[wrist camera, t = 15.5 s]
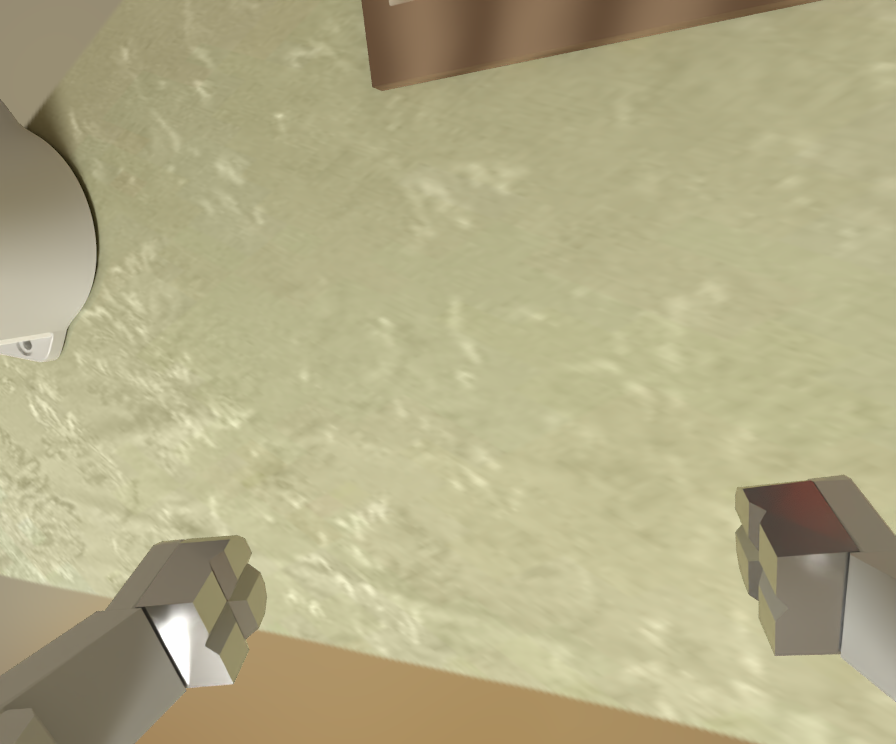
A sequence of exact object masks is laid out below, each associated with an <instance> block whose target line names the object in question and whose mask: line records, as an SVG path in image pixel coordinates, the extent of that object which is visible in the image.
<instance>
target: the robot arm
mask: <svg viewBox="0 0 896 744" xmlns="http://www.w3.org/2000/svg"><path fill="white" fill-rule="evenodd" d="M95 269H96V237H95V230H94V224H93V220H92V216H91V212H90V209H89V205H88V203H87V200H86V197H85V195H84V192H83V190H82V188H81V186H80V184H79V182H78V180H77V178H76V177H75V175H74V173H73V172H72V170H71V169H70V167H69V166H68V164H67V163H66V162H65V160H64V159H63V158H62V157H61V156H60V154H59V153H58V152H57V151H56V150H55V149H54V148H53V147H52V146H50V145H49V144H48V143H47V142H46V141H44V140H43V139H42V138H40V137H38V136H37V135H35V134H34V133H32V132H30V131H29V130H27V129H26V128H24V127H23V126H22V125H20V124H19V123H18V122H17V120H16V119H15V118H14V116H13V115H12V114H11V112H10V111H9V109H8V108H7V107H6V106H5V105H4V103H3V102H2V101H1V100H0V354H2V355H7V356H12V357H17V358H22V359H27V360H31V361H36V362H46V361H54V360H56V359H57V358H58V357H59V355H60V353H61V351H62V348H63V344H64V340H65V336H66V331H67V328H68V326H69V324H70V323H71V321H72V320H73V319H74V318H75V316H76V315H77V314H78V313H79V311H80V310H81V309H82V307H83V306H84V304H85V302H86V300H87V298H88V296H89V293H90V290H91V288H92V284H93V280H94V275H95ZM735 510H736V512H737V514H738V516H739V518H740V521H741V523H742V525H741V526H740V527H739V528H738V530H737V531H736V532H735V534H736V552H737V558H738V564H739V569H740V572H741V575H742V578H743V582H744V584H745V587H746V589H747V591H748V594H749V595H750V596H752V597H753V598H755V599H756V600H758V601H759V620H760V622H761V625H762V627H763V629H764V632H765V634H766V636H767V639H768V641H769V643H770V646H771V648H772V650H773V653H774V655H775V656H786V655H824V654H841V658H842V659H844V660H845V661H846V662H847V663H848V664H850V665H851V666H852V667H853V668H855V669H856V670H857V671H858V672H859V673H861V674H862V675H863V676H864V677H866V678H867V679H868V680H869V681H870V682H872V683H873V684H874V685H875V686H877V687H878V688H879V689H880V690H882V691H883V692H884V693H885V694H886V695H888V696H889V697H890V698H891V699H893V700H894V701H895V702H896V535H895V534H894V533H893V531H892V530H891V529H890V528H889V526H888V525H887V524H886V522H885V521H884V520H883V519H882V517H881V516H880V515H879V514H878V512H877V511H876V510H875V509H874V507H873V506H872V505H871V503H870V502H869V501H868V500H867V498H866V497H865V496H864V495H863V493H862V492H861V491H860V489H859V488H858V487H857V486H856V484H855V483H854V482H853V481H852V479H851V478H849V477H847V476H845V475H838V476H830V477H821V478H813V479H808V480H806V481H795V482H785V483H775V484H765V485H756V486H746V487H737V490H736V495H735ZM251 554H252V552H251V550H250V548H249V546H248V544H247V542H246V539H245V538H243V537H240V536H238V535H234V536H220V537H206V538H193V539H186V540H171V541H162V542H159V543H157V544H155V545H153V547H152V548H151V549H150V551H149V552H148V553H147V555H146V556H145V557H144V559H143V560H142V561H141V563H140V564H139V565H138V567H137V568H136V569H135V571H134V572H133V573H132V575H131V576H130V577H129V579H128V580H127V581H126V583H125V584H124V585H123V587H122V588H121V589H120V591H119V592H118V594H117V595H116V596H115V598H114V599H113V600H112V602H111V603H110V604H109V606H108V607H107V608H106V610H105V611H96V612H95V613H93V614H92V615H90V616H89V617H88V618H86V619H84V620H83V621H82V622H80V623H79V624H77V625H76V626H74V627H73V628H71V629H70V630H68V631H67V632H65V633H64V634H62V635H61V636H59V637H58V638H56V639H55V640H53V641H52V642H50V643H49V644H47V645H46V646H44V647H43V648H41V649H40V650H38V651H37V652H35V653H34V654H32V655H31V656H29V657H28V658H26V659H25V660H23V661H22V662H20V663H19V664H17V665H16V666H14V667H13V668H11V669H10V670H8V671H7V672H5V673H4V674H2V675H1V676H0V744H135V743H136V742H137V740H139V738H140V737H141V736H142V735H143V734H144V733H145V732H146V731H147V730H148V729H149V728H150V727H151V726H152V725H153V724H154V723H155V722H156V721H157V720H158V719H159V718H160V717H161V716H162V715H163V714H164V713H165V712H166V711H167V710H168V709H169V708H170V707H171V706H172V705H173V704H174V703H175V702H176V701H177V700H178V699H179V698H180V697H181V696H182V695H183V694H184V693H185V692H186V688H191V687H192V688H193V687H204V686H216V685H228V684H234V682H235V680H236V678H237V675H238V673H239V671H240V669H241V666H242V664H243V662H244V660H245V658H246V656H247V653H248V651H249V648H248V645H247V643H246V639H247V638H248V637H249V636H250V635H251V634H252V633H254V632H255V631H256V630H257V629H258V628H259V627H260V624H261V622H262V619H263V617H264V615H265V609H266V600H267V594H266V588H265V583H264V580H263V578H262V575H261V573H260V572H259V571H258V570H256V569H255V568H254V567H252V566H251V565H250V564H248V562H249V559H250V557H251Z"/></svg>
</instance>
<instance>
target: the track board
mask: <svg viewBox="0 0 896 744" xmlns="http://www.w3.org/2000/svg"><path fill="white" fill-rule="evenodd" d="M816 1H821V0H362V8H363V16H364V24H365V32H366V40H367V48H368V55H369V63H370V71H371V79H372V87H374V88H376V89H379V90H381V91H384V90H389V89H394V88H398V87H403V86H408V85H413V84H418V83H423V82H428V81H432V80H437V79H442V78H447V77H452V76H457V75H462V74H466V73H471V72H476V71H481V70H486V69H491V68H496V67H500V66H505V65H510V64H515V63H520V62H525V61H529V60H534V59H539V58H544V57H549V56H554V55H559V54H563V53H568V52H573V51H578V50H583V49H588V48H593V47H597V46H602V45H607V44H612V43H617V42H622V41H627V40H631V39H636V38H641V37H646V36H651V35H656V34H661V33H665V32H670V31H675V30H680V29H685V28H690V27H694V26H699V25H704V24H709V23H714V22H719V21H724V20H728V19H733V18H738V17H743V16H748V15H753V14H758V13H762V12H767V11H772V10H777V9H782V8H787V7H792V6H796V5H801V4H806V3H811V2H816Z"/></svg>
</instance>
